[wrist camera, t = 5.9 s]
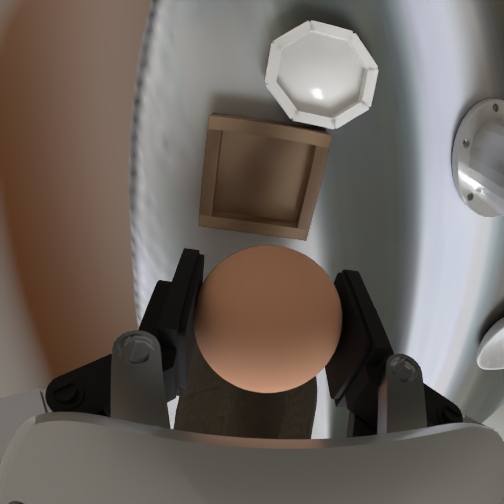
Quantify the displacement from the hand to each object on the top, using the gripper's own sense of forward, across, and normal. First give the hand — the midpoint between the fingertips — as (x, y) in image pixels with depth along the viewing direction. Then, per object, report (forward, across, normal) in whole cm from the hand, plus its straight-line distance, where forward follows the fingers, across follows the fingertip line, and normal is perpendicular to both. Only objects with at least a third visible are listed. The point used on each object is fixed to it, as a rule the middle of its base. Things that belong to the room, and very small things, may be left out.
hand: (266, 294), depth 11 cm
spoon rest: (+16, -48, +16) cm, 54 cm away
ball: (+1, 0, 0) cm, 1 cm away
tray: (+15, 0, 0) cm, 15 cm away
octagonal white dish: (+15, -3, -9) cm, 18 cm away
